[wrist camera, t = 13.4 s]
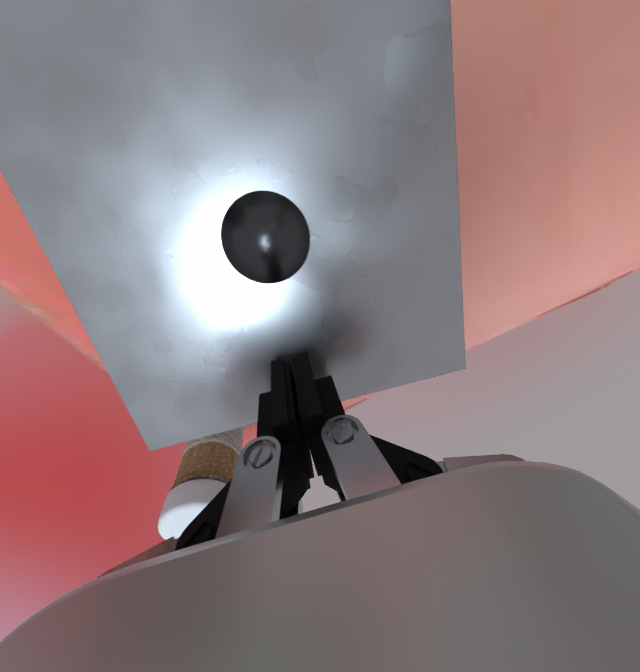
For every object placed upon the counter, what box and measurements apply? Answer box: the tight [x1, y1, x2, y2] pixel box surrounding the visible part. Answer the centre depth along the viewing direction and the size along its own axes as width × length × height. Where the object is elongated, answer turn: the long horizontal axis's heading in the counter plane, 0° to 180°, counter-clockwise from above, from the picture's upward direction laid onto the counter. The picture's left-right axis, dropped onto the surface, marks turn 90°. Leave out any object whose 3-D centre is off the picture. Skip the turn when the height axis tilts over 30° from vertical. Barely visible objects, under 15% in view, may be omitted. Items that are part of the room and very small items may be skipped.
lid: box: [0, 0, 466, 451], centre depth 10 cm, size 16×17×2 cm
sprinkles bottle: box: [158, 426, 245, 540], centre depth 23 cm, size 5×5×13 cm
